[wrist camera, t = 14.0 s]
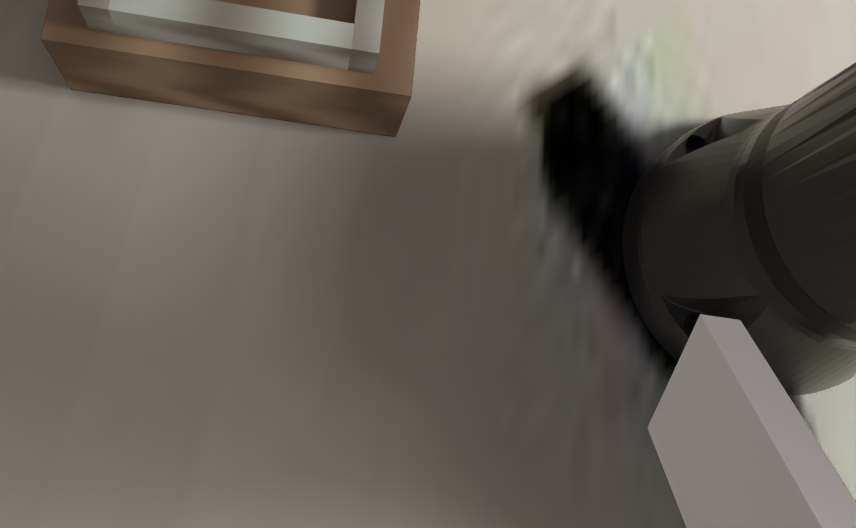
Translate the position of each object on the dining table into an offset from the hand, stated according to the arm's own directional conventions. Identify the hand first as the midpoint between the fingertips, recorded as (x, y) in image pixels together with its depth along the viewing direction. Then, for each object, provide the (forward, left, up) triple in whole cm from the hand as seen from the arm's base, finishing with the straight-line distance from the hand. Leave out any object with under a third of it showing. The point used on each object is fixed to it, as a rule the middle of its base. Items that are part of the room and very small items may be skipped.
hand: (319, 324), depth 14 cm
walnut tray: (+4, -21, -25) cm, 32 cm away
